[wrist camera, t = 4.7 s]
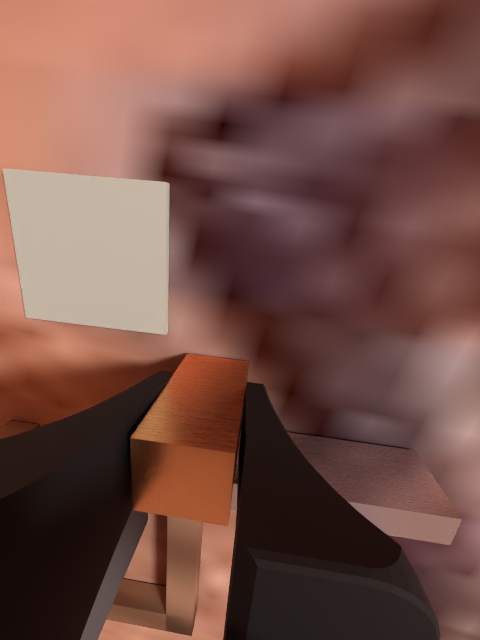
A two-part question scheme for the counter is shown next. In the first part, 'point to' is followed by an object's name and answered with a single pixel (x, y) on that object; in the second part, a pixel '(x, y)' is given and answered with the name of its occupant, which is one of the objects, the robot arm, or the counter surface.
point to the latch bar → (223, 447)
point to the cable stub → (115, 574)
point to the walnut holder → (149, 599)
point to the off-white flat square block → (91, 248)
